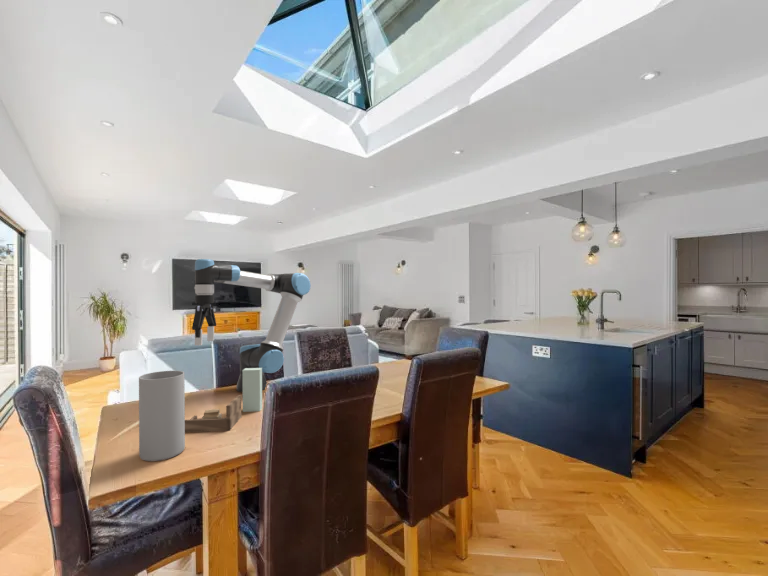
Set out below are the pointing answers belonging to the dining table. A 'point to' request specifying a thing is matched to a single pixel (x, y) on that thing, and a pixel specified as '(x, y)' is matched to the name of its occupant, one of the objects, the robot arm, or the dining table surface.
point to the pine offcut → (211, 413)
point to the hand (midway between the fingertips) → (204, 342)
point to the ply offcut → (213, 417)
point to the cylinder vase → (161, 415)
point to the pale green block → (252, 389)
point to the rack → (217, 424)
